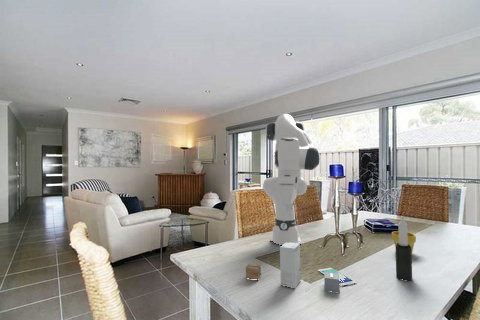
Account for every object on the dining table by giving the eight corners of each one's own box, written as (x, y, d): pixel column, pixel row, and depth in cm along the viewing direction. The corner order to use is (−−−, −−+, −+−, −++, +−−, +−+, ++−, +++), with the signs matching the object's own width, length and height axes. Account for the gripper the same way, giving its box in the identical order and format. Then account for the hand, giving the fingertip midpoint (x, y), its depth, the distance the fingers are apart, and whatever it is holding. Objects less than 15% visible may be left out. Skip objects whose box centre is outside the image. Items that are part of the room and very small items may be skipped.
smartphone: (331, 267, 108) (357, 282, 94) (331, 269, 108) (357, 284, 94) (317, 269, 105) (341, 285, 91) (317, 271, 105) (341, 287, 91)
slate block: (324, 285, 93) (324, 271, 93) (338, 287, 91) (338, 273, 91) (324, 291, 88) (324, 277, 88) (339, 293, 87) (339, 279, 87)
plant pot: (393, 254, 124) (392, 235, 124) (391, 248, 133) (390, 230, 133) (418, 257, 119) (417, 237, 119) (414, 251, 128) (413, 232, 129)
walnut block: (249, 274, 102) (249, 262, 103) (261, 276, 101) (260, 263, 101) (246, 279, 98) (245, 266, 98) (258, 281, 96) (257, 268, 96)
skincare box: (295, 289, 89) (294, 249, 90) (279, 285, 92) (279, 246, 93) (301, 280, 97) (300, 242, 97) (286, 277, 100) (286, 240, 100)
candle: (397, 274, 101) (396, 214, 102) (412, 277, 98) (410, 215, 99) (395, 278, 97) (394, 216, 98) (411, 282, 94) (409, 217, 95)
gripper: (285, 176, 106) (285, 208, 106) (276, 179, 87) (277, 218, 87) (299, 176, 104) (300, 209, 104) (294, 179, 85) (295, 219, 85)
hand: (289, 213), depth 95 cm, fingers open, 2 cm apart
